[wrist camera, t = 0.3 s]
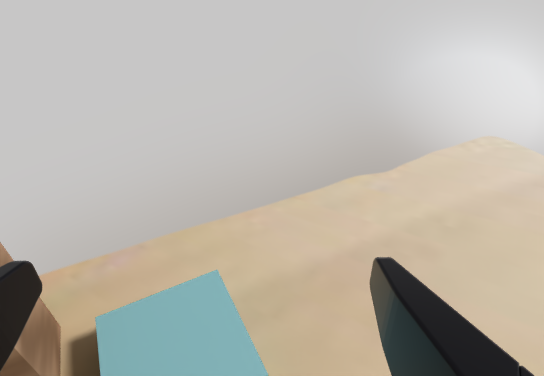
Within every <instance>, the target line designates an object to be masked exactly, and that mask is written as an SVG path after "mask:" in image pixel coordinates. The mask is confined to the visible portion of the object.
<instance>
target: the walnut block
mask: <svg viewBox="0 0 544 376" xmlns="http://www.w3.org/2000/svg"><path fill="white" fill-rule="evenodd" d="M11 261H13V259H12V258H11V256H10V255H9V254H8V252H7V251H6V249H5V248H4V247H3V245H2V244H1V243H0V267H1V266H3V265H5V264H7V263H9V262H11ZM60 328H61V327H60V325H59V324H58V322H57V321H56V320H55V318H54V317H53V315H52V314H51V313H50V311H49V310H48V308H47V307H46V306H45V304H44V303H43V301H42V300H41V298H40V297H39V298H38V300H37V303H36V305H35V307H34V309H33V311H32V313H31V315H30V317H29V319H28V321H27V323H26V325H25V327H24V329H23V332H22V334H21V336H20V338H19V340H18V342H17V344H16V346H15V348H14V349H13V351H12V353H11V355H10V356H9V358H8V360H7V362H6V363H5V365H4V367H3V368H2V370H1V372H0V376H60Z"/></svg>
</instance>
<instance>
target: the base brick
mask: <svg viewBox="0 0 544 376" xmlns="http://www.w3.org/2000/svg"><path fill="white" fill-rule="evenodd" d="M95 319H96V331H97V342H98V353H99V364H100V375H101V376H268V373H267V371H266V369H265V367H264V365H263V363H262V361H261V359H260V357H259V355H258V353H257V351H256V349H255V346H254V344H253V342H252V340H251V338H250V336H249V334H248V332H247V330H246V328H245V326H244V324H243V322H242V320H241V318H240V316H239V313H238V311H237V309H236V307H235V305H234V303H233V301H232V299H231V297H230V295H229V293H228V291H227V289H226V287H225V285H224V283H223V280H222V278H221V276H220V274H219V272H218V270H215V271H212V272H210V273H207V274H205V275H202V276H200V277H197V278H194V279H192V280H189V281H187V282H184V283H182V284H179V285H177V286H174V287H172V288H169V289H166V290H164V291H161V292H159V293H156V294H154V295H151V296H149V297H146V298H144V299H141V300H139V301H136V302H133V303H131V304H128V305H126V306H123V307H121V308H118V309H116V310H113V311H111V312H108V313H106V314H103V315H100V316H98V317H95Z"/></svg>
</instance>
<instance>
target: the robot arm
mask: <svg viewBox="0 0 544 376" xmlns="http://www.w3.org/2000/svg"><path fill="white" fill-rule="evenodd" d="M370 290H371V295H372V300H373V305H374V309H375V314H376V319H377V324H378V329H379V333H380V338H381V342H382V347H383V350H384V353H385V357H386V360H387V363H388V366H389V369H390V372H391V375H392V376H534V375H533V374H532V373H531V372H529V371H528V370H527V369H526V368H525V367H523V366H519V363H518V362H517V361H516V360H515V359H514V358H512V357H511V356H510V355H509V354H508V353H506V352H505V351H504V350H503V349H501V348H500V347H499V346H498V345H497V344H495V343H494V342H493V341H492V340H491V339H489V338H488V337H487V336H486V335H485V334H483V333H482V332H481V331H480V330H479V329H477V328H476V327H475V326H474V325H472V324H471V323H470V322H469V321H468V320H466V319H465V318H464V317H463V316H462V315H460V314H459V313H458V312H457V311H456V310H454V309H453V308H452V307H451V306H449V305H448V304H447V303H446V302H445V301H443V300H442V299H441V298H440V297H439V296H437V295H436V294H435V293H434V292H433V291H431V290H430V289H429V288H428V287H427V286H425V285H424V284H423V283H422V282H420V281H419V280H418V279H417V278H416V277H414V276H413V275H412V274H411V273H410V272H408V271H407V270H406V269H405V268H404V267H402V266H401V265H400V264H399V263H397V262H396V261H395V260H394V259H392V258H390V257H377V258H375V259H374V261H373V266H372V272H371V278H370ZM41 292H42V282H41V280H40V278H39V276H38V274H37V272H36V270H35V268H34V266H33V265H32V263H30V262H29V261H11V262H9V263H7V264H5V265H3V266H1V267H0V372H1V370H2V368H3V367H4V365H5V363H6V362H7V360H8V358H9V356H10V355H11V353H12V351H13V349H14V348H15V346H16V344H17V342H18V340H19V338H20V336H21V334H22V332H23V329H24V327H25V325H26V323H27V321H28V319H29V317H30V315H31V313H32V311H33V309H34V307H35V305H36V303H37V300H38V298H39V296H40V294H41Z"/></svg>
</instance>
